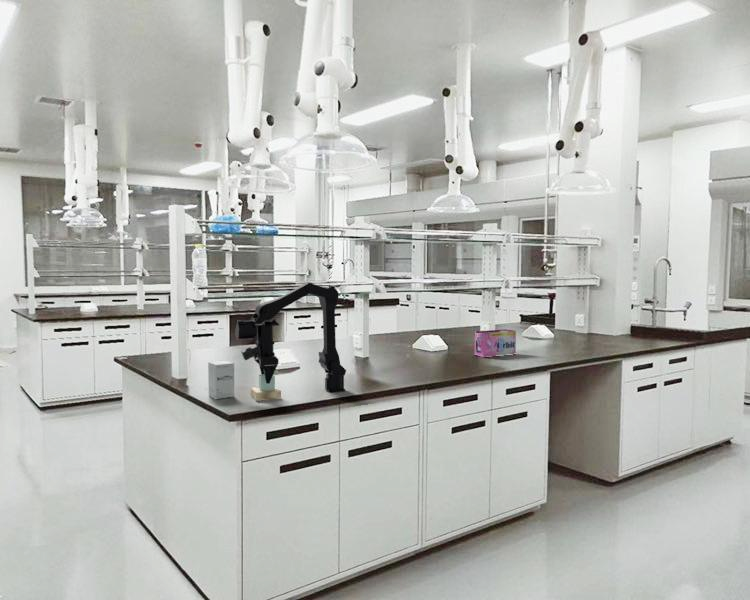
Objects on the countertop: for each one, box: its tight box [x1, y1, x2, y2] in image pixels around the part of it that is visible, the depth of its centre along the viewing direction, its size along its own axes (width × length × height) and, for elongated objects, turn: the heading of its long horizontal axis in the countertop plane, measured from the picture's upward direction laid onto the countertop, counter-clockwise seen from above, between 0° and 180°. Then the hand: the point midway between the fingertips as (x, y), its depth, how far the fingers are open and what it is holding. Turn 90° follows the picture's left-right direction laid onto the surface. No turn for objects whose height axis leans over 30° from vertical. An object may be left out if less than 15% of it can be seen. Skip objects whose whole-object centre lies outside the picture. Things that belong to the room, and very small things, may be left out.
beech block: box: [250, 385, 282, 402], centre depth 201 cm, size 9×9×4 cm
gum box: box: [474, 328, 517, 357], centre depth 299 cm, size 24×8×14 cm, turn 118°
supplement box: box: [207, 360, 235, 400], centre depth 202 cm, size 7×7×13 cm
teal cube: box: [258, 374, 276, 391], centre depth 201 cm, size 5×5×5 cm
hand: (265, 381), depth 201 cm, fingers open, 9 cm apart
